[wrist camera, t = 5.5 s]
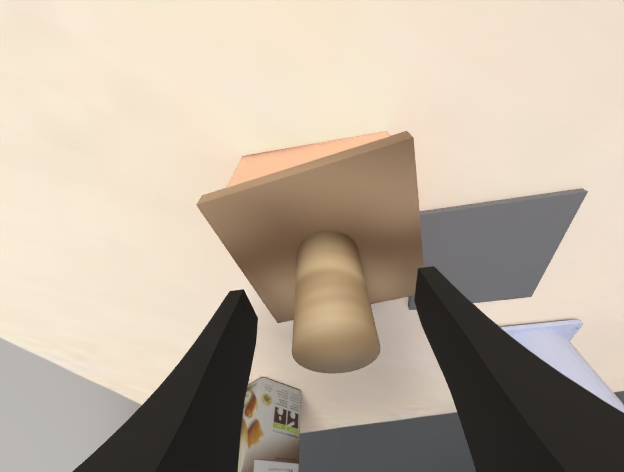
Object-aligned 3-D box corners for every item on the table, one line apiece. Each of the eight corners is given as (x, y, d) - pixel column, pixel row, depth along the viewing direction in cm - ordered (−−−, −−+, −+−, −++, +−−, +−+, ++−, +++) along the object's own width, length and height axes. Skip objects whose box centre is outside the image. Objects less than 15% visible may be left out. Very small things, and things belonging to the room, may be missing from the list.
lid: (421, 282, 15) (469, 387, 11) (278, 312, 17) (268, 415, 12) (406, 130, 10) (489, 211, 6) (202, 195, 12) (134, 299, 7)
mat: (528, 292, 22) (531, 296, 22) (408, 306, 23) (409, 310, 23) (582, 188, 16) (587, 191, 16) (417, 211, 17) (419, 215, 17)
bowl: (386, 245, 19) (401, 287, 16) (277, 259, 20) (271, 302, 16) (387, 131, 14) (410, 159, 11) (243, 156, 15) (225, 189, 12)
